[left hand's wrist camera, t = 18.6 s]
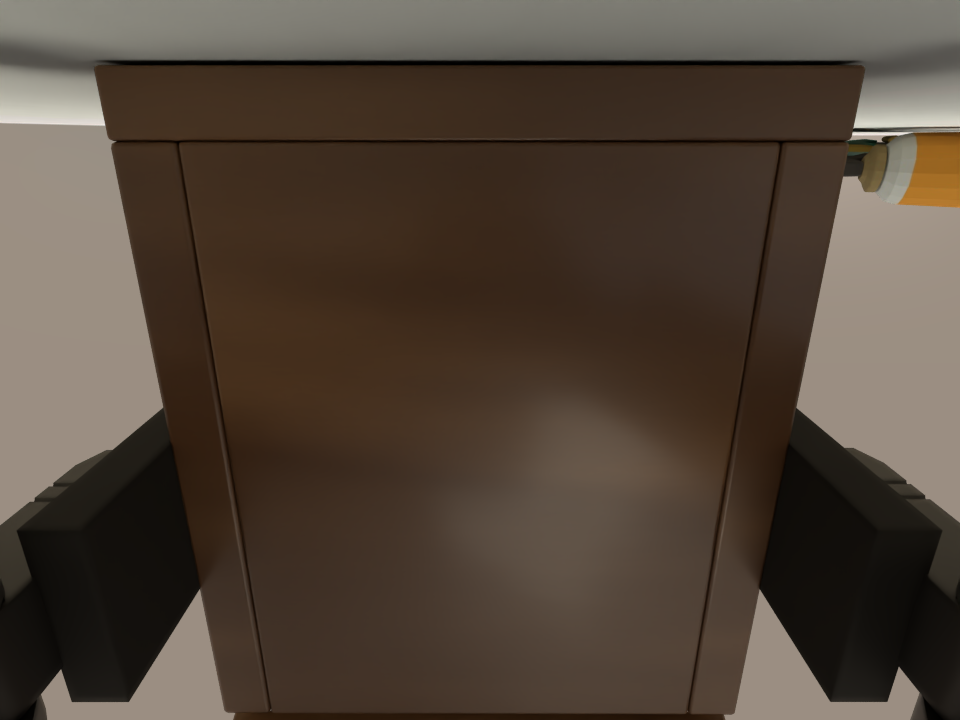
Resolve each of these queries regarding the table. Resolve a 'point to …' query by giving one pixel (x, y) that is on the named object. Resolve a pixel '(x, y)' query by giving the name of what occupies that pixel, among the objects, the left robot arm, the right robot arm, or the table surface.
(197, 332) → the chest
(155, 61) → the table surface
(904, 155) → the spray gun
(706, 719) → the lid
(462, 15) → the table surface
